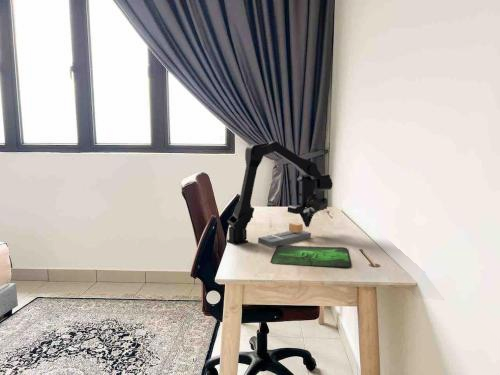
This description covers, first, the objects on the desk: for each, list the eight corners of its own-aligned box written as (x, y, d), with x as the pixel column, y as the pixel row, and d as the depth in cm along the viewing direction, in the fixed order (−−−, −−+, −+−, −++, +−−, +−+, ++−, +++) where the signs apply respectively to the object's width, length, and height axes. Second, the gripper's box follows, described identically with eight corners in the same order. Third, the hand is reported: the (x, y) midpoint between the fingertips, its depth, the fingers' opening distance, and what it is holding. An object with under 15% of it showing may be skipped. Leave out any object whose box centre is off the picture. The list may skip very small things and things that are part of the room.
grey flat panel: (271, 247, 146) (271, 241, 146) (258, 242, 153) (258, 237, 152) (310, 237, 160) (310, 232, 159) (297, 233, 166) (297, 228, 166)
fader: (297, 233, 157) (297, 225, 156) (288, 231, 160) (289, 223, 160) (302, 232, 158) (302, 224, 158) (294, 230, 162) (294, 222, 162)
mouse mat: (268, 264, 128) (268, 262, 128) (276, 246, 149) (276, 243, 149) (352, 269, 123) (352, 266, 123) (347, 249, 144) (347, 247, 144)
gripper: (306, 195, 149) (305, 234, 151) (337, 191, 161) (336, 227, 163) (286, 192, 158) (286, 228, 160) (317, 188, 169) (316, 222, 172)
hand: (307, 226), depth 163 cm, fingers closed
